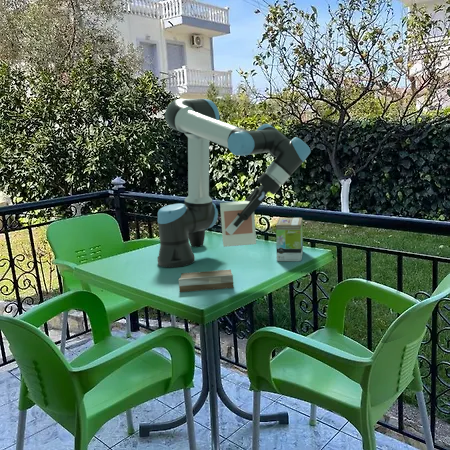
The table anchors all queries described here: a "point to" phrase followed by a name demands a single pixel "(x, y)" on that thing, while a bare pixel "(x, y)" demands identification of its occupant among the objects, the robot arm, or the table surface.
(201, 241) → the mug
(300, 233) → the tea box
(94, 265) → the table surface
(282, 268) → the table surface
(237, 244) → the cream carton
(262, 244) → the table surface
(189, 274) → the shelf board
